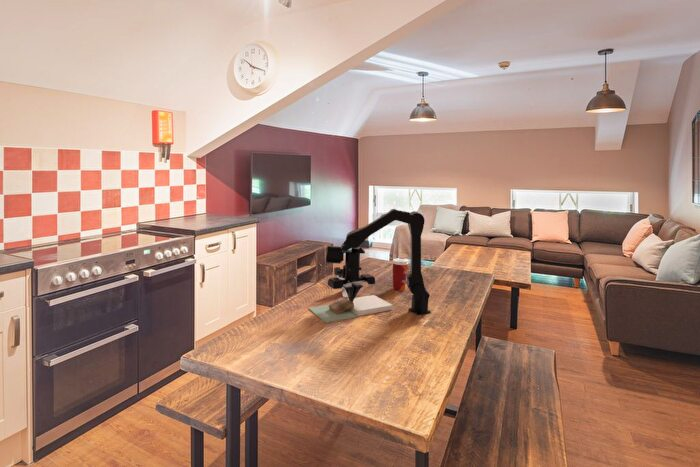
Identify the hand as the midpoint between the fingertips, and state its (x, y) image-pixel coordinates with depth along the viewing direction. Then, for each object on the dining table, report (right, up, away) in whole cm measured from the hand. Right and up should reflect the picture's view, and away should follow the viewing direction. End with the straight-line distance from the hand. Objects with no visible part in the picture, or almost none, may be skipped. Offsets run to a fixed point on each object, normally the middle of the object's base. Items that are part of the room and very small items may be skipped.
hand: (351, 302), depth 163 cm
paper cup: (+23, +1, +30) cm, 37 cm away
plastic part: (-2, 0, +22) cm, 22 cm away
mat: (-7, -4, -3) cm, 9 cm away
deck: (+6, -3, +4) cm, 8 cm away
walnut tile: (-4, -2, -2) cm, 5 cm away
